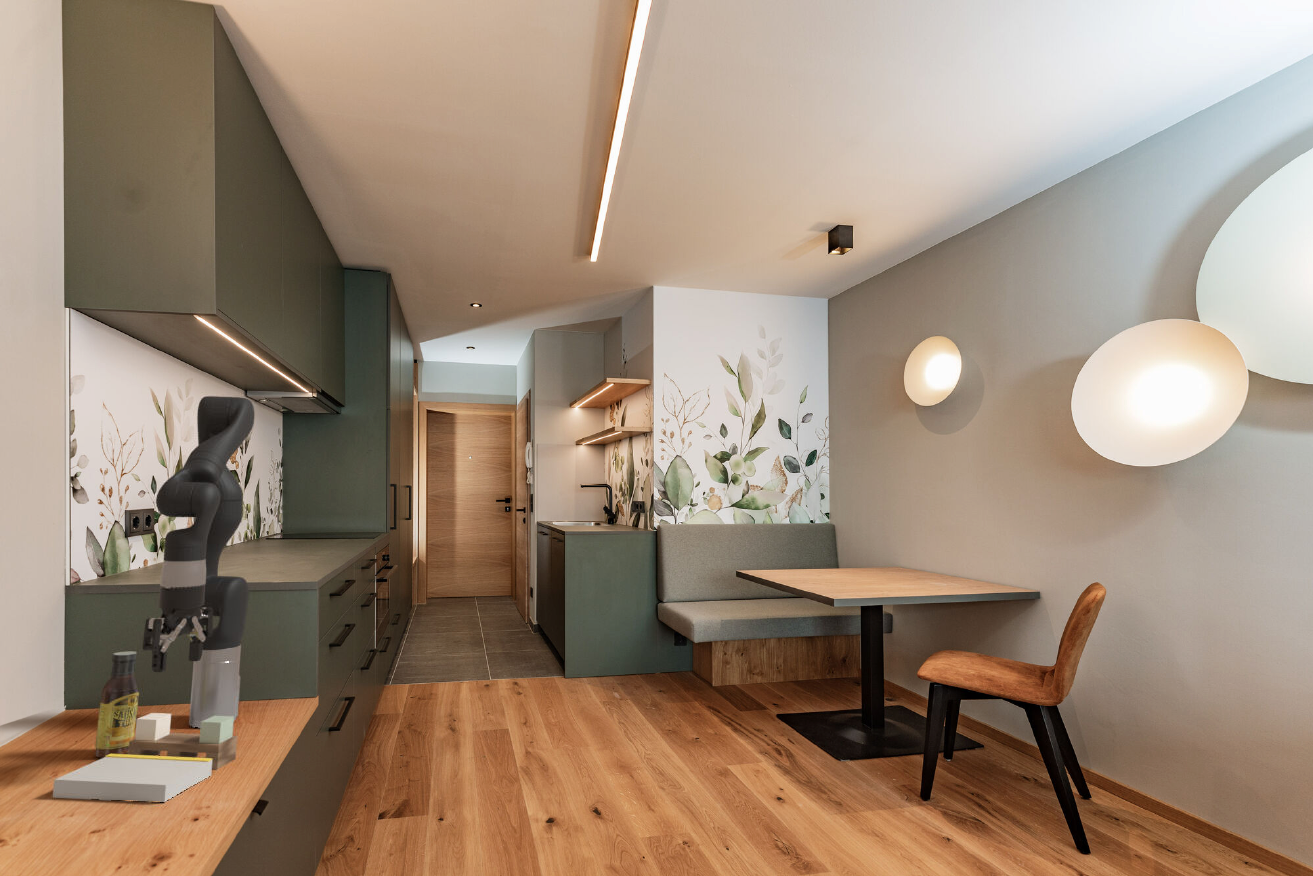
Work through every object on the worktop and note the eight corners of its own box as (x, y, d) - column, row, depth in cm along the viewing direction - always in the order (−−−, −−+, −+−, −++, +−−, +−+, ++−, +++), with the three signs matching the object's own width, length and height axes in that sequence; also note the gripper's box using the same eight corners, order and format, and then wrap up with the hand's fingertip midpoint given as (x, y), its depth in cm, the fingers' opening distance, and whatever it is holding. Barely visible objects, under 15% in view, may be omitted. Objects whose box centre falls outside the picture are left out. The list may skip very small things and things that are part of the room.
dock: (108, 771, 135) (110, 753, 136) (211, 776, 134) (212, 758, 135) (52, 797, 124) (54, 778, 124) (164, 803, 123) (166, 783, 123)
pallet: (149, 755, 144) (150, 732, 145) (235, 759, 143) (237, 735, 144) (127, 765, 139) (129, 741, 139) (217, 769, 138) (218, 745, 138)
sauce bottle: (111, 761, 140) (120, 657, 142) (85, 757, 142) (95, 655, 143) (142, 749, 147) (150, 651, 148) (116, 746, 148) (125, 648, 150)
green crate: (212, 736, 143) (214, 715, 143) (232, 737, 143) (233, 716, 143) (199, 742, 139) (200, 721, 139) (219, 743, 139) (220, 722, 139)
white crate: (150, 733, 144) (152, 712, 144) (169, 734, 144) (171, 713, 144) (134, 740, 140) (136, 719, 140) (154, 740, 140) (156, 719, 140)
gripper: (195, 577, 149) (189, 656, 148) (135, 586, 135) (128, 674, 134) (227, 579, 148) (221, 659, 147) (169, 588, 134) (163, 677, 133)
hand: (177, 666), depth 141 cm, fingers open, 8 cm apart
